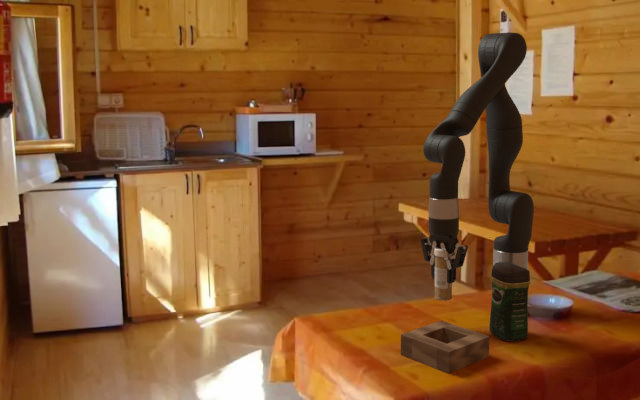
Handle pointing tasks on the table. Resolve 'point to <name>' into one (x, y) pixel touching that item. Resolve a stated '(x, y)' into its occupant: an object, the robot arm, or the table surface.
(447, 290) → the sprinkles bottle
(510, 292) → the coffee jar
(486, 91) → the robot arm
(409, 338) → the well block
